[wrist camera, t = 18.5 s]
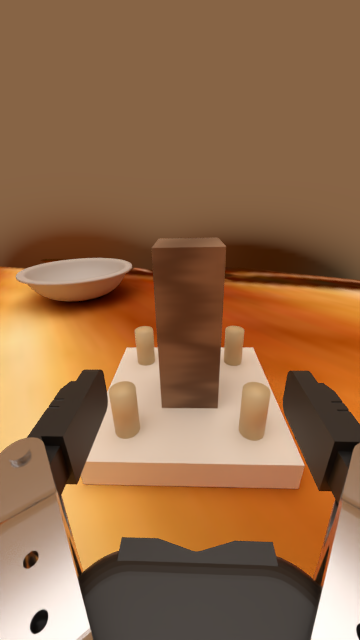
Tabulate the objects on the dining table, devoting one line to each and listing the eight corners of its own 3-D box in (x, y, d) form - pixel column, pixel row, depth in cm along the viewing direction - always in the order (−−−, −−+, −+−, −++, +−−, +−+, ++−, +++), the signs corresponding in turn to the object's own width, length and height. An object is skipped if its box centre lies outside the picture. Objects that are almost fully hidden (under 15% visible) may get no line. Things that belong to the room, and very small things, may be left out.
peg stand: (251, 364, 33) (256, 318, 31) (298, 488, 19) (316, 422, 16) (128, 364, 34) (123, 319, 31) (83, 484, 19) (65, 419, 17)
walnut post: (212, 374, 28) (218, 237, 22) (217, 408, 23) (226, 246, 17) (166, 374, 28) (158, 238, 22) (161, 408, 23) (151, 247, 17)
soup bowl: (155, 291, 62) (153, 264, 60) (64, 327, 45) (55, 291, 42) (93, 277, 76) (89, 254, 73) (4, 301, 58) (-5, 272, 55)
